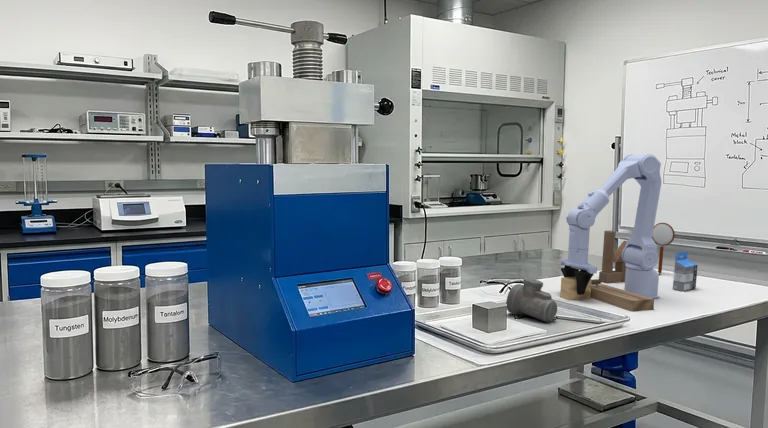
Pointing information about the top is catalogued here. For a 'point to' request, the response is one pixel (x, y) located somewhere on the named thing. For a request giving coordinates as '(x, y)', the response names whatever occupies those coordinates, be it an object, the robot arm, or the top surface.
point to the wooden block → (612, 260)
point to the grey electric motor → (531, 300)
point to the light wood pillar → (575, 288)
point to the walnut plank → (621, 298)
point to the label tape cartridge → (684, 273)
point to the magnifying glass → (662, 239)
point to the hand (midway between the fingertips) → (575, 292)
